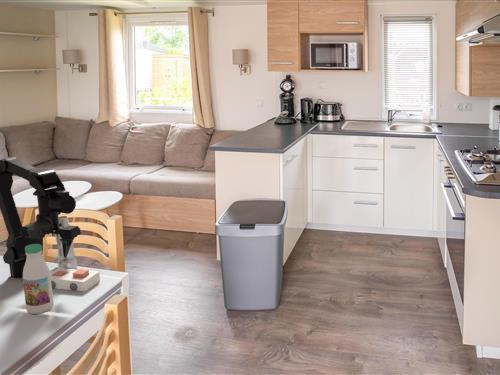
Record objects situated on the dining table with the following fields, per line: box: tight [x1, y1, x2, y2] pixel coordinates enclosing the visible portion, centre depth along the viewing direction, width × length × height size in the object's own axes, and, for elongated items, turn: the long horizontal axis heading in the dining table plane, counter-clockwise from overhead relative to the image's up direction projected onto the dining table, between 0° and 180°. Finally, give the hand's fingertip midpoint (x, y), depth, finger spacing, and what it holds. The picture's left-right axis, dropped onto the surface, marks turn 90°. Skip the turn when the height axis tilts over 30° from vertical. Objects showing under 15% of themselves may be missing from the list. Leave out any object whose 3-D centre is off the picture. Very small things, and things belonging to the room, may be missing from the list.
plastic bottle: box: [54, 215, 78, 270], centre depth 193 cm, size 6×7×20 cm
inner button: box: [52, 271, 68, 276], centre depth 182 cm, size 4×4×2 cm
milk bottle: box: [22, 244, 55, 315], centre depth 162 cm, size 8×8×20 cm
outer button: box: [73, 268, 90, 278], centre depth 180 cm, size 4×4×2 cm
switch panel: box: [50, 266, 101, 292], centre depth 181 cm, size 17×9×4 cm, turn 74°
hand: (53, 256), depth 178 cm, fingers open, 9 cm apart
